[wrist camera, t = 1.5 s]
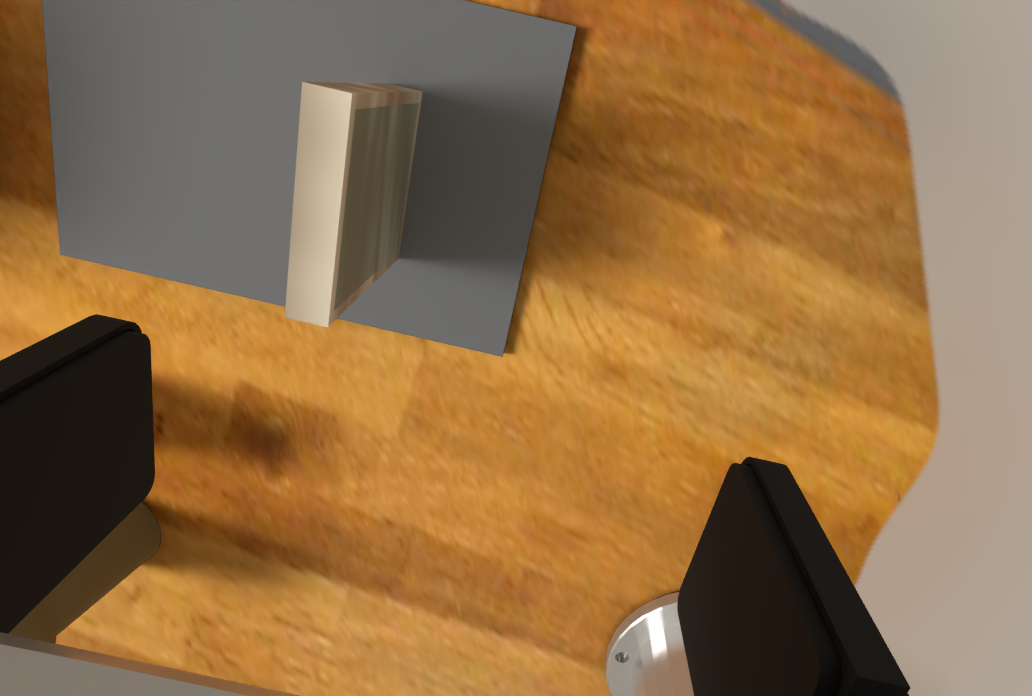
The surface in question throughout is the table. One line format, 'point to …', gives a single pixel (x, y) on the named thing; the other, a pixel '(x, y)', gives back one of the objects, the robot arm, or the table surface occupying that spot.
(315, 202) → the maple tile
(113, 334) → the robot arm
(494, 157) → the rubber mat
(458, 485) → the table surface
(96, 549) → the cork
